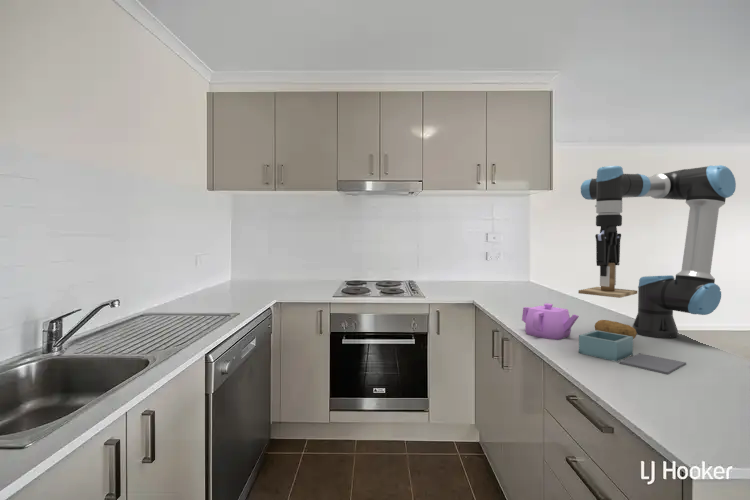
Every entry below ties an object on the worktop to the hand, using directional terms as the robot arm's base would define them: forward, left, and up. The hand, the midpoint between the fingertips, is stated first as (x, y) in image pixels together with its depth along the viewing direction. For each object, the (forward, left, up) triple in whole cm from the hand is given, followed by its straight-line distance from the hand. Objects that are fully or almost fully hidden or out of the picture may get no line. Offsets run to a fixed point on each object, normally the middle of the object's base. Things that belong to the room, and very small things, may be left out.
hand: (607, 285), depth 144 cm
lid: (0, 0, -3) cm, 3 cm away
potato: (-16, -4, -23) cm, 28 cm away
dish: (0, 0, -23) cm, 23 cm away
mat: (0, +14, -23) cm, 27 cm away
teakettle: (-10, -26, -23) cm, 36 cm away
